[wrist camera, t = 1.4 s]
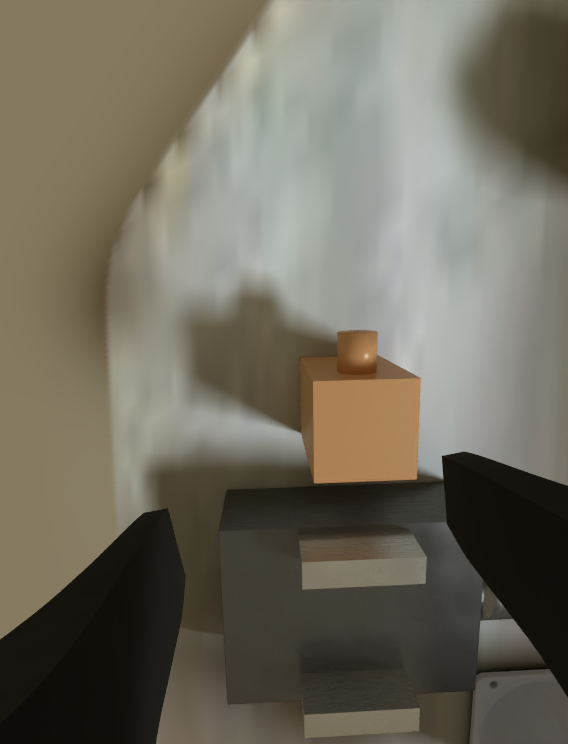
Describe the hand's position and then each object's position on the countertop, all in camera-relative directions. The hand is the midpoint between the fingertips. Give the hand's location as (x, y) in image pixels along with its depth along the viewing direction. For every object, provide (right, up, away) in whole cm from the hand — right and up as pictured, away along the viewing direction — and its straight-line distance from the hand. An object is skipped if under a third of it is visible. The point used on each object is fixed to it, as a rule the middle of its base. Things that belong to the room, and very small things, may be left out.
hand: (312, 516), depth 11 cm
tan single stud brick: (+2, +3, +11) cm, 11 cm away
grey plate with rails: (+2, -7, +13) cm, 15 cm away
